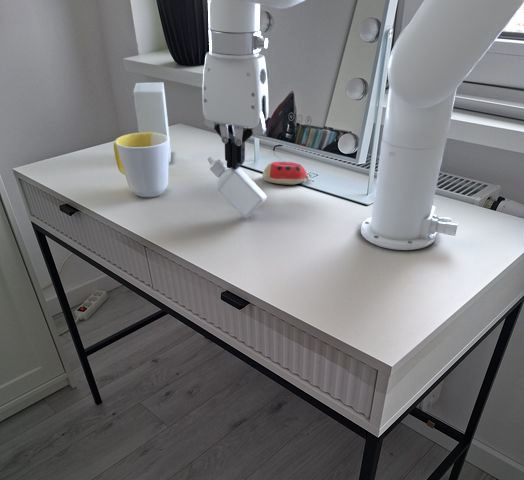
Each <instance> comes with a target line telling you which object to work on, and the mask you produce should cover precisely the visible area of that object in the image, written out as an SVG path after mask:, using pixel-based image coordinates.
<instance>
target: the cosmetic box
mask: <svg viewBox="0 0 524 480" xmlns="http://www.w3.org/2000/svg"><path fill="white" fill-rule="evenodd" d="M132 93H133V99H134V106H135V114H136V121H137V128H138V133H141V132H152V133H160V134H163V135H166V136H167V137H168V138H169V162H168V164H171V160H172V158H171V157H172V149H171V148H172V147H171V139H170V129H169V119H168V112H167V111H168V110H167V101H166V92H165V84H164V82H163V81H159V82H136V83H135V86H134V88H133V91H132Z"/></svg>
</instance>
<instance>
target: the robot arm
mask: <svg viewBox="0 0 524 480" xmlns="http://www.w3.org/2000/svg"><path fill="white" fill-rule="evenodd" d="M305 1H307V0H207V11H208V16H207V17H208V42H209V43H208V45H209V51H207V52H206V53H205V58H204V66H203V74H202V91H201V92H202V93H201V94H202V95H201V97H202V99H201V101H202V102H201V103H202V114H203V117H204V121H203V124H204V126H205V127H207V128H208V129H211V130H214V131H215V132H216V133H217V134H218V135H219V137H220V138H221V142H222V144H224V160H225V161H226V167H227V168H226V169H229V168H233V169H237V168H241V166H243V164H244V162H245V160H246V142H247V141H248V140H249V139H250V138H251V137H257V136H263V135H264V134H265V133H266V132H267V127H266V121H267V120H268V118H269V85H268V83H269V82H268V72H267V71H268V70H267V65H266V58H265V55H264V54H260V52H261V50H262V49H267V48H268V45H269V40H268V38H267V37H263V36H262V32H261V31H260V30H261V29H260V28H261V27H260V26H261V25H260V23H261V6H265V7H269V8H273V9H289V8H293V7H294V6H296V5H299V4H301V3H303V2H305ZM523 4H524V0H423V2H422V3H421V5H420V6H419V7H418V9H417V10H416V12H415V14H414V15H413V17H411V20H410V22H409V23H408V24H407V25H406V26H405V27H404V28H403V29H402V31H401V32H400V33H399V35H398V37H397V38H396V41H395V42H394V45H393V47H392V50H391V52H390V54H389V57H388V61H387V68H386V72H387V73H386V74H387V81H388V85H389V86H388V93H387V99H386V108H385V114H384V119H383V120H384V122H383V130H382V135H381V143H380V149H379V158H378V163H377V164H378V166H377V173H376V180H375V188H374V195H373V203H372V209H371V210H372V211H371V216H368V217H367V218H365V219H364V220H363V221H362V223H361V225H360V233H361V235H362V237H363V238H364V239H365V240H366V241H367V242H369V243H371V244H373V245H375V246H377V247H381V248H384V249H389V250H395V251H396V250H397V251H414V250H420V249H423V248H426V247H429V246H430V245H432V244H433V243H434V242H435V240H436V238H437V235H438V234H443V235H445V236H446V235H447V236H454V237H456V233H457V229H458V225H459V224H458V223H454V222H452V218H451V217H445V216H444V217H442V216H438V214H435V210H436V206H434V201H435V196H436V191H437V186H438V182H439V177H440V172H441V167H442V162H443V158H444V152H445V148H446V143H447V139H448V135H449V131H450V125H451V120H452V115H453V111H454V106H455V99H456V94H457V89H458V88H459V86H460V85H461V84H462V83H463V82H464V80H465V79H466V78H467V77H468V76H469V75H470V73H471V72H472V71H473V69H475V67H476V66H477V64H478V63H480V61H481V60H482V58H483V57H484V55H485V54H487V51H488V50H489V49H490V48H491V46H492V45H493V44H494V42H496V40H497V39H498V37H499V36H500V35H501V34H502V32H503V31H504V30H505V28H506V27H507V26H508V24H509V23H510V22H511V21H512V20H513V18H514V17H515V16H516V14H517V13H518V11H520V9H521V7H522V6H523ZM235 127H236V128H235Z"/></svg>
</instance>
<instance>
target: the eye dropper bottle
mask: <svg viewBox="0 0 524 480" xmlns="http://www.w3.org/2000/svg"><path fill="white" fill-rule="evenodd" d="M207 161H208V163H209V165H210V167H209V170H210V172H211V173H212V174H213V175H215V177H216V178H218V181H217V185H216V188H217V191H218V192H219V193H220V194H221V195H222V196H223V197H224V198H225V199H226V200H227V202H229V203H230V204H231V206H232V207H234V208H235V210H236V211H237V212H238V213H239V214H240V215H241V216H242V217H244V219H248V218H250V217H251V216H252V215H253V214H254V212H256V210H257V209H258V208H259V207H260V206H261V205H263V204H264V202H265V201H266V200H267V199H268V196H267V194H266V193H265V192H264V191H263V190H262V188H260V187H259V186H258V185H257V184H256V183H255V181H253V180H252V178H251V177H250V176H249V175H248V174H247V173H246V172H244V170H243V169H242V168H241V167H239V168H237V169H233V168H227V165H226V164H225V163H224V162H222V160H221V159H214V158H213V157H211V156H209V157H208V158H207Z"/></svg>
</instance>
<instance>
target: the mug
mask: <svg viewBox="0 0 524 480" xmlns="http://www.w3.org/2000/svg"><path fill="white" fill-rule="evenodd" d="M113 152H114V157H115V158H114V159H115V162H116V166H117V169H118V171H119V172H120V173H121V174H122V175H124V176H125V179H126V182H127V186H128V188H129V189H130V191H132V193H133V194H135V195H136V196H138V197H140V198H154V197H158V196H161V195H163V193H164V192H165V191H166V189H167V188H168V186H169V163H168V162H169V138H168V137H167V136H166V135H163V134H160V133H152V132H141V133H139V132H132V133H127V134H124V135H121V136H119V137H117V138H116V139H115V140H114V142H113Z"/></svg>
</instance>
